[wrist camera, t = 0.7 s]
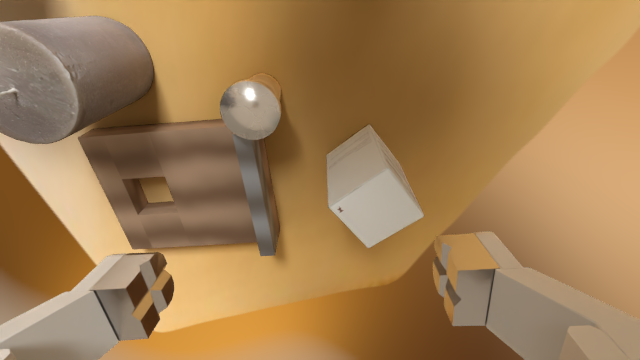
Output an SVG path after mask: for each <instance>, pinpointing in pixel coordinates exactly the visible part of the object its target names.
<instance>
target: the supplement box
mask: <svg viewBox="0 0 640 360" xmlns="http://www.w3.org/2000/svg"><path fill="white" fill-rule="evenodd" d="M326 156H327V188H328V208H329V209H330V210H331V211H332V212H333V213H334V214H335V215H336V216H337V217H338V218H339V219H340V220H341V221H342V222H343V223H344V224H345V225H346V226H347V227H348V228H349V229H350V230H351V231H352V232H353V233H354V234H355V235H356V236H357V237H358V238H359V239H360V241H362V243H363V244H364V245H365V246H366V247H367V248H370V247H372V246H374V245H375V244H377V243H379V242H380V241H382V240H384V239H386V238H387V237H389V236H391V235H393V234H394V233H396V232H398V231H400V230H401V229H403V228H405V227H406V226H408V225H410V224H412V223H414V222H415V221H417V220H419V219H421V218H422V217H424V214H423V212H422V210H421V207H420V205H419V203H418V201H417V199H416V197H415V195H414V193H413V191H412V189H411V187H410V185H409V183H408V180H407V178H406V176H405V174H404V172H403V169H402V167H401V165H400V163H399V162H398V161H397V159H396V158H395V157H394V155H393V154H392V153H391V151H390V150H389V149H388V148H387V146H386V145H385V144H384V142H383V141H382V140H381V138H380V137H379V136H378V134H377V133H376V132H375V131H374V129H373V128H372V127H371V125H370V124H369V125H367V126H366V127H364V128H363V129H361V130H360V131H359V132H357V133H356V134H354V135H353V136H352V137H350V138H349V139H348V140H346V141H345V142H343V143H342V144H341V145H339V146H338V147H337V148H335V149H334V150H333V151H331V152H330V153H328V154H327V155H326Z"/></svg>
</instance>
